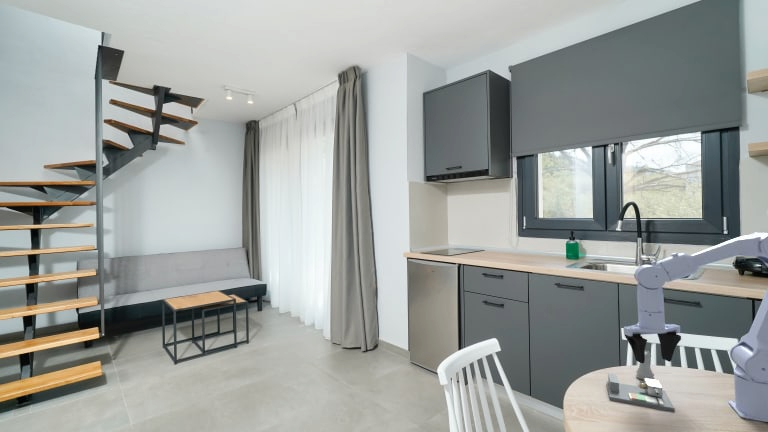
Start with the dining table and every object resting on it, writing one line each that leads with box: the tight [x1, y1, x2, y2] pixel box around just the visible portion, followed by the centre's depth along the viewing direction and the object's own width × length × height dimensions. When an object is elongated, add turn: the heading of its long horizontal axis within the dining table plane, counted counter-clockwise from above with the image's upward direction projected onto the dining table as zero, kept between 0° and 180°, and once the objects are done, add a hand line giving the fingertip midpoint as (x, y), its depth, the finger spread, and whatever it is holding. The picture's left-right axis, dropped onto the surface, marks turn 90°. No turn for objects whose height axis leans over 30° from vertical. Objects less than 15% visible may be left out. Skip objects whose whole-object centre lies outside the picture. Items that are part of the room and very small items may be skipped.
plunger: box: [638, 378, 663, 398], centre depth 93 cm, size 4×8×2 cm, turn 152°
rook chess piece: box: [635, 349, 656, 382], centre depth 105 cm, size 4×4×8 cm
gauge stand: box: [606, 372, 676, 413], centre depth 94 cm, size 14×10×3 cm
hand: (653, 360), depth 94 cm, fingers open, 7 cm apart
